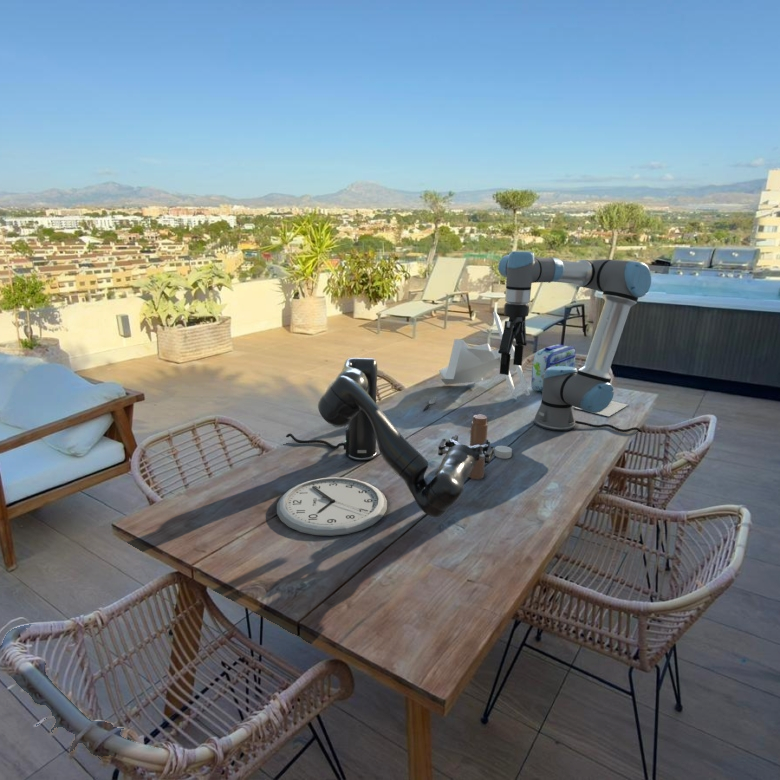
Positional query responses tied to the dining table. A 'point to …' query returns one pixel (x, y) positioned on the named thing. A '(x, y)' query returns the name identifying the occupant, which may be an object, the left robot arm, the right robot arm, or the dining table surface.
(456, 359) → the white plastic object
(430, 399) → the fork
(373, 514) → the wall clock
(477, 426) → the brown tube
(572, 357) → the lunch box
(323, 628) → the dining table surface
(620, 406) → the invitation card
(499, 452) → the lid
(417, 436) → the dining table surface
